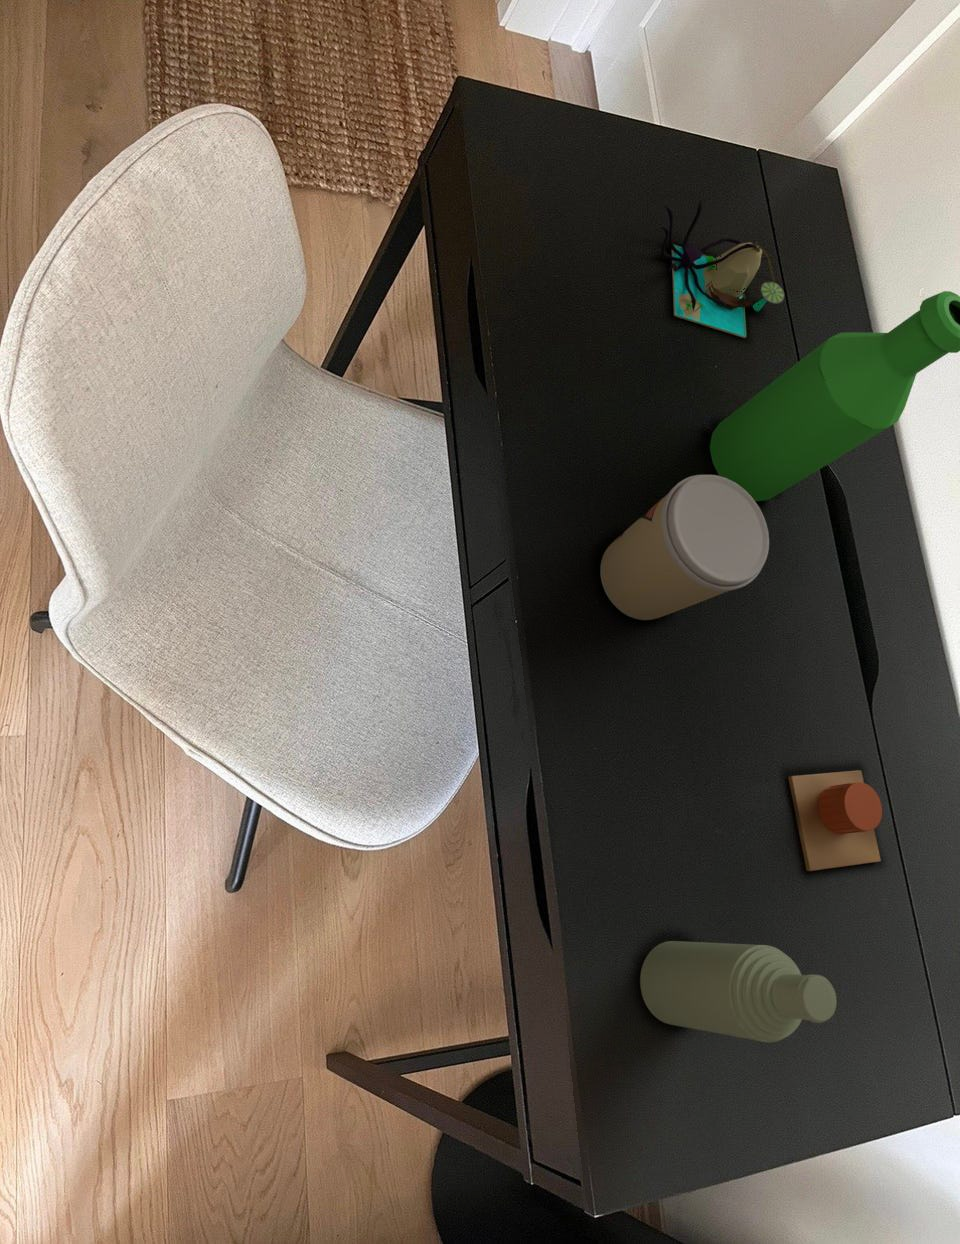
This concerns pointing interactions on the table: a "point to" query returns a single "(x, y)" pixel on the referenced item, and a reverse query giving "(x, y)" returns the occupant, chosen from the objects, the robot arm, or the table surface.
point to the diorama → (716, 282)
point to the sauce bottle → (733, 989)
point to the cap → (850, 808)
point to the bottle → (831, 400)
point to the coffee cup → (686, 549)
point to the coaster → (815, 837)
